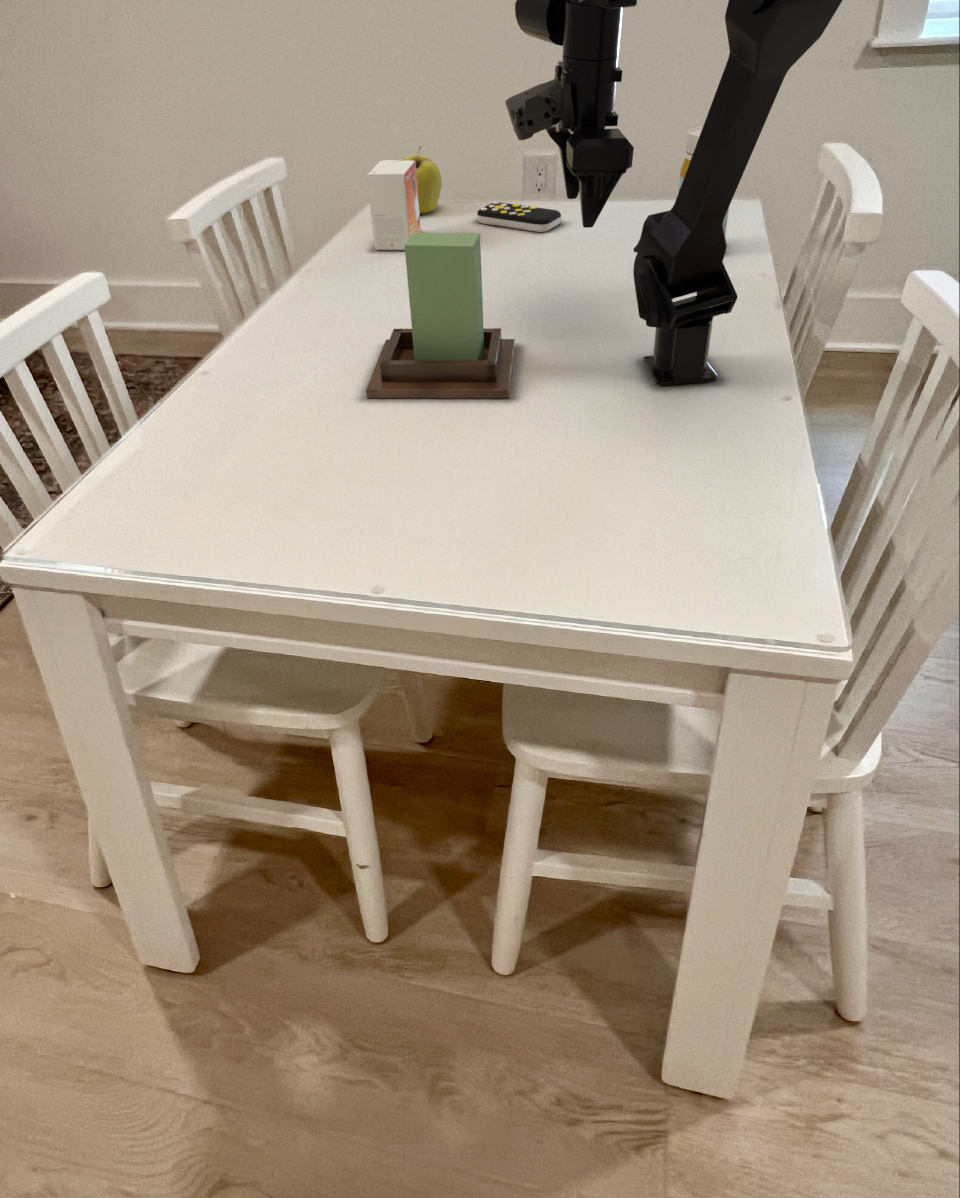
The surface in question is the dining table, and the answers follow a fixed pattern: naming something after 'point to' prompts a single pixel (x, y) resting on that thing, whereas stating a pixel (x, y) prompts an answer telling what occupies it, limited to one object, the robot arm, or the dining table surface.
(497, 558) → the dining table surface
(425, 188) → the apple
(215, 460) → the dining table surface
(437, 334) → the green rectangular block
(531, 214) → the remote control
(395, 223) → the small box
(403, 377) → the mount dock
